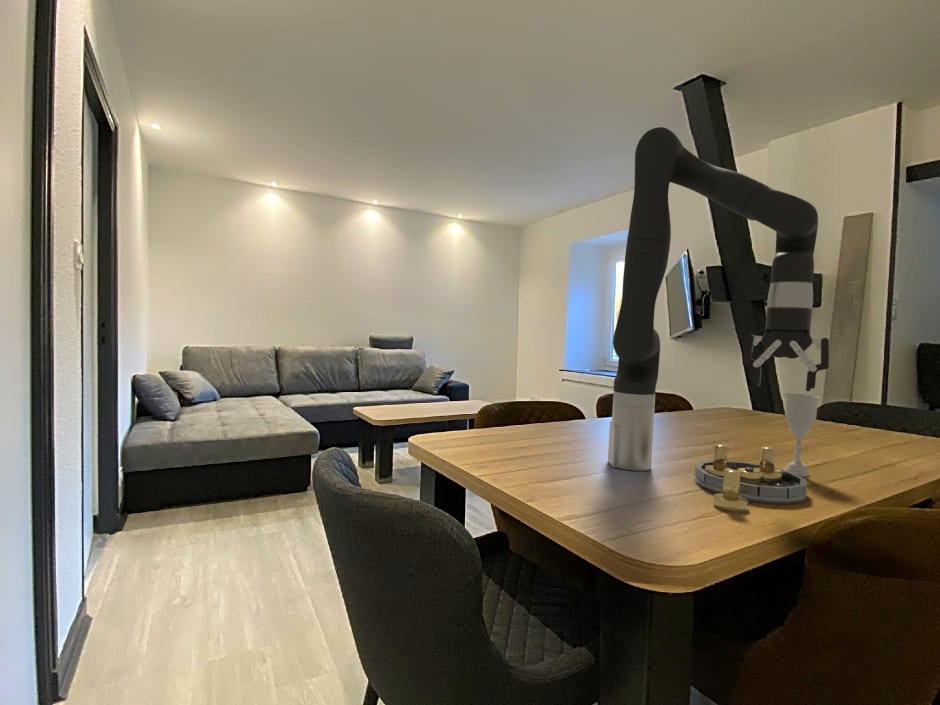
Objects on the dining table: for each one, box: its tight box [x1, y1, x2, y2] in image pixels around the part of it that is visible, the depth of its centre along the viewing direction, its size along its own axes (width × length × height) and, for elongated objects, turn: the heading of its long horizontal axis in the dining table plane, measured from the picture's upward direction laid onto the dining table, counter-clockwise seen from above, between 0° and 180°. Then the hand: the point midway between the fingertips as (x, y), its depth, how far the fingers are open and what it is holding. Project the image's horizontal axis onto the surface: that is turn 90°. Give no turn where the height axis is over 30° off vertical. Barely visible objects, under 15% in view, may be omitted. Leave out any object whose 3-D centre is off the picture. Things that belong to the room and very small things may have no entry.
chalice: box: [783, 393, 821, 477], centre depth 116 cm, size 7×7×18 cm
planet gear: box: [712, 469, 749, 513], centre depth 92 cm, size 6×6×7 cm
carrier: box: [694, 443, 808, 505], centre depth 104 cm, size 20×20×8 cm
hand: (782, 388), depth 100 cm, fingers open, 8 cm apart
